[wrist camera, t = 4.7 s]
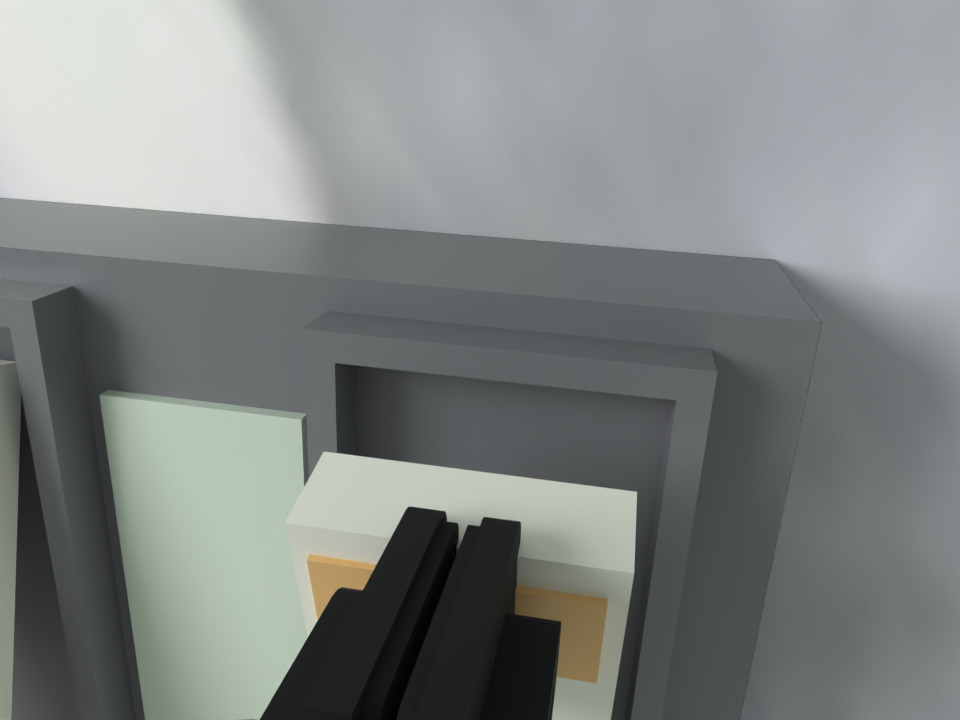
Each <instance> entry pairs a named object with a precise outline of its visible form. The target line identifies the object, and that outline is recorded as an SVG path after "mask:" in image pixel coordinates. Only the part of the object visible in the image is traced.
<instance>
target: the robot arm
mask: <svg viewBox="0 0 960 720" xmlns="http://www.w3.org/2000/svg"><path fill="white" fill-rule="evenodd" d="M520 540H521V522H520V521H512V520H505V519H497V518H490V517H483V519H482V522H481V524H480V526H475V525H468V526H467V528H466V531H465V533H464V536H463V538H462V541H461V544H460V546H459V549H458V552H457V544H458V541H459V526H458V523H455V522H447V516H446V512H445V511H440V510H433V509H425V508H418V507H411V506H410V507H408V508H407V509H406V510H405V512H404V514H403V516H402V518H401V520H400V522H399V523H398V525H397V527H396V529H395V531H394V533H393V535H392V537H391V538H390V540H389V542H388V544H387V546H386V548H385V550H384V552H383V553H382V555H381V557H380V559H379V561H378V563H377V565H376V567H375V568H374V570H373V572H372V574H371V576H370V578H369V580H368V582H367V583H366V585H365V587H364V589H363V590H357V589H351V588H344V587H341V588H339V589H337V590H336V592H335V593H334V594H333V596H332V597H331V599H330V601H329V602H328V604H327V606H326V607H325V609H324V611H323V612H322V614H321V616H320V618H319V619H318V621H317V623H316V624H315V626H314V628H313V629H312V631H311V633H310V635H309V636H308V638H307V640H306V641H305V643H304V645H303V647H302V648H301V650H300V652H299V653H298V655H297V657H296V658H295V660H294V662H293V664H292V665H291V667H290V669H289V670H288V672H287V674H286V675H285V677H284V679H283V681H282V682H281V684H280V686H279V687H278V689H277V691H276V692H275V694H274V696H273V698H272V699H271V701H270V703H269V704H268V706H267V708H266V710H265V711H264V713H263V715H262V716H261V718H260V720H552V713H553V705H554V696H555V687H556V677H557V667H558V657H559V646H560V635H561V621H555V620H549V619H542V618H536V617H529V616H523V615H517V614H515V592H516V586H517V559H518V552H519V547H520ZM243 720H256V719H243Z"/></svg>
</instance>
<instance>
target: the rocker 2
mask: <svg viewBox="0 0 960 720" xmlns="http://www.w3.org/2000/svg"><path fill="white" fill-rule="evenodd" d="M410 506H411V507H418V508H425V509H433V510H440V511H445V512H446V516H447V522H455V523H458V526H459V541H458V544H457V552H458V549H459V546H460V544H461V541H462V538H463V536H464V533H465V531H466V528H467V526H468V525H475V526H480V524H481V522H482V519H483V517H490V518H497V519H505V520H512V521H520V522H521V540H520V547H519V552H518V559H517V586H516V592H515V614H517V615H523V616H529V617H536V618H542V619H549V620H555V621H561V635H560V646H559V657H558V667H557V677H556V687H555V696H554V705H553V713H552V720H611V715H612V709H613V702H614V696H615V690H616V684H617V677H618V671H619V665H620V659H621V653H622V646H623V640H624V634H625V628H626V622H627V615H628V609H629V603H630V597H631V590H632V584H633V578H634V566H635V538H636V510H637V492H635V491H627V490H619V489H611V488H604V487H596V486H588V485H580V484H573V483H565V482H557V481H549V480H541V479H534V478H526V477H518V476H510V475H503V474H495V473H487V472H479V471H472V470H464V469H456V468H448V467H440V466H433V465H425V464H417V463H409V462H402V461H394V460H386V459H378V458H371V457H363V456H355V455H347V454H339V453H332V452H323V454H322V456H321V457H320V459H319V461H318V463H317V465H316V467H315V468H314V470H313V472H312V474H311V476H310V478H309V479H308V481H307V483H306V485H305V487H304V489H303V490H302V492H301V494H300V496H299V498H298V500H297V501H296V503H295V505H294V507H293V509H292V511H291V512H290V514H289V516H288V518H287V520H286V522H285V526H286V531H287V536H288V541H289V546H290V551H291V556H292V561H293V566H294V571H295V576H296V581H297V586H298V591H299V596H300V601H301V605H302V610H303V615H304V620H305V625H306V630H307V635H308V636H309V635H310V633H311V631H312V629H313V628H314V626H315V624H316V623H317V621H318V619H319V618H320V616H321V614H322V612H323V611H324V609H325V607H326V606H327V604H328V602H329V601H330V599H331V597H332V596H333V594H334V593H335V592H336V590H337V589H339V588H341V587H344V588H351V589H357V590H363V589H364V587H365V585H366V583H367V582H368V580H369V578H370V576H371V574H372V572H373V570H374V568H375V567H376V565H377V563H378V561H379V559H380V557H381V555H382V553H383V552H384V550H385V548H386V546H387V544H388V542H389V540H390V538H391V537H392V535H393V533H394V531H395V529H396V527H397V525H398V523H399V522H400V520H401V518H402V516H403V514H404V512H405V510H406V509H407V508H408V507H410Z"/></svg>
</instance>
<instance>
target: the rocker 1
mask: <svg viewBox="0 0 960 720" xmlns="http://www.w3.org/2000/svg"><path fill="white" fill-rule="evenodd" d="M20 419H21V388H20V383H19V377H18V371H17V366H16V362H15V361H7V360H0V720H11V717H12V684H13V651H14V618H15V585H16V551H17V518H18V485H19V452H20Z"/></svg>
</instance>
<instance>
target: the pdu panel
mask: <svg viewBox="0 0 960 720" xmlns="http://www.w3.org/2000/svg"><path fill="white" fill-rule="evenodd" d="M821 324H822V321H821V320H820V319H819V317H818V316H817V315H816V313H815V312H814V311H813V309H812V308H811V307H810V306H809V304H808V303H807V302H806V300H805V299H804V298H803V296H802V295H801V294H800V292H799V291H798V290H797V288H796V287H795V286H794V284H793V283H792V282H791V281H790V279H789V278H788V277H787V275H786V274H785V273H784V271H783V270H782V269H781V267H780V266H779V265H778V263H777V262H776V261H775V260H770V259H758V258H745V257H733V256H720V255H708V254H695V253H683V252H670V251H658V250H645V249H633V248H620V247H608V246H595V245H583V244H570V243H558V242H545V241H533V240H520V239H508V238H495V237H483V236H470V235H458V234H445V233H433V232H420V231H408V230H395V229H383V228H370V227H358V226H345V225H333V224H320V223H308V222H295V221H283V220H270V219H258V218H245V217H233V216H220V215H208V214H195V213H183V212H170V211H158V210H145V209H133V208H120V207H108V206H95V205H83V204H70V203H58V202H45V201H33V200H20V199H8V198H0V360H7V361H15V362H16V366H17V371H18V377H19V383H20V388H21V419H20V452H19V485H18V518H17V551H16V585H15V618H14V651H13V684H12V717H11V720H243V719H256V720H260V718H261V716H262V715H263V713H264V711H265V710H266V708H267V706H268V704H269V703H270V701H271V699H272V698H273V696H274V694H275V692H276V691H277V689H278V687H279V686H280V684H281V682H282V681H283V679H284V677H285V675H286V674H287V672H288V670H289V669H290V667H291V665H292V664H293V662H294V660H295V658H296V657H297V655H298V653H299V652H300V650H301V648H302V647H303V645H304V643H305V641H306V640H307V638H308V635H307V630H306V625H305V620H304V615H303V610H302V605H301V601H300V596H299V591H298V586H297V581H296V576H295V571H294V566H293V561H292V556H291V551H290V546H289V541H288V536H287V531H286V526H285V522H286V520H287V518H288V516H289V514H290V512H291V511H292V509H293V507H294V505H295V503H296V501H297V500H298V498H299V496H300V494H301V492H302V490H303V489H304V487H305V485H306V483H307V481H308V479H309V478H310V476H311V474H312V472H313V470H314V468H315V467H316V465H317V463H318V461H319V459H320V457H321V456H322V454H323V452H332V453H339V454H347V455H355V456H363V457H371V458H378V459H386V460H394V461H402V462H409V463H417V464H425V465H433V466H440V467H448V468H456V469H464V470H472V471H479V472H487V473H495V474H503V475H510V476H518V477H526V478H534V479H541V480H549V481H557V482H565V483H573V484H580V485H588V486H596V487H604V488H611V489H619V490H627V491H635V492H637V510H636V538H635V566H634V578H633V584H632V590H631V597H630V603H629V609H628V615H627V622H626V628H625V634H624V640H623V646H622V653H621V659H620V665H619V671H618V677H617V684H616V690H615V696H614V702H613V709H612V715H611V720H740V716H741V711H742V706H743V702H744V697H745V692H746V687H747V682H748V677H749V673H750V668H751V663H752V658H753V653H754V648H755V643H756V639H757V634H758V629H759V624H760V619H761V614H762V610H763V605H764V600H765V595H766V590H767V585H768V580H769V576H770V571H771V566H772V561H773V556H774V551H775V547H776V542H777V537H778V532H779V527H780V522H781V517H782V513H783V508H784V503H785V498H786V493H787V488H788V484H789V479H790V474H791V469H792V464H793V459H794V455H795V450H796V445H797V440H798V435H799V430H800V425H801V421H802V416H803V411H804V406H805V401H806V396H807V392H808V387H809V382H810V377H811V372H812V367H813V362H814V358H815V353H816V348H817V343H818V338H819V333H820V329H821Z"/></svg>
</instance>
